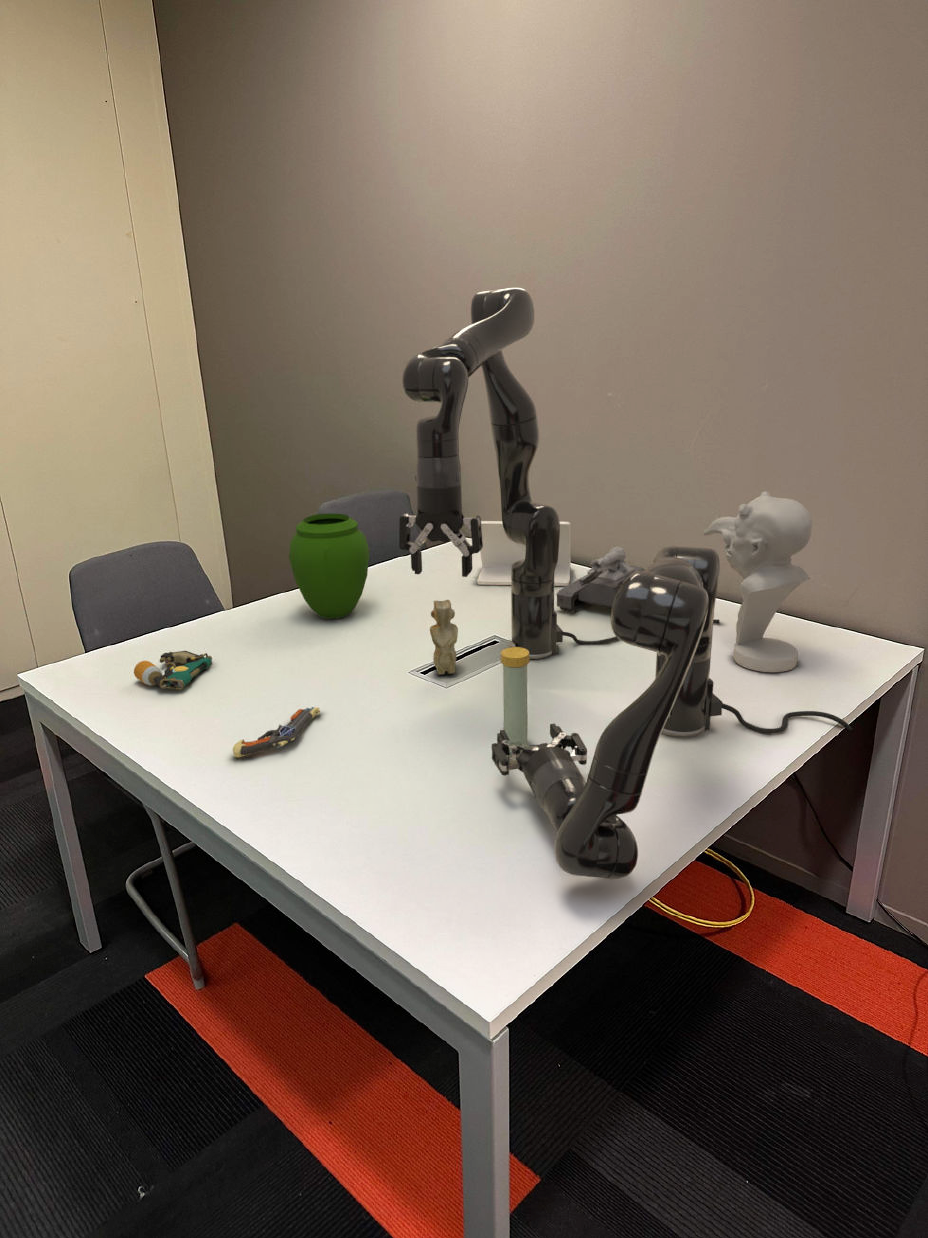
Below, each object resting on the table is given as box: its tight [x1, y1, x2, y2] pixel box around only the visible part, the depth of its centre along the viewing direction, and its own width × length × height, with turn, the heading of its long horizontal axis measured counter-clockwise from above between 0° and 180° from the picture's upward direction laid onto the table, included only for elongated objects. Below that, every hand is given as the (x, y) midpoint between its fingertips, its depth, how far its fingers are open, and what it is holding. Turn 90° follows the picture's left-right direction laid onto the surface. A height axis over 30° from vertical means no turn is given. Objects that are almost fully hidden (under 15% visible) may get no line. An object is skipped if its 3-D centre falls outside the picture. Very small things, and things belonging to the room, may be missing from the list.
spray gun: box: [133, 650, 213, 690], centre depth 180 cm, size 4×17×15 cm
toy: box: [556, 546, 646, 613], centre depth 212 cm, size 25×20×15 cm
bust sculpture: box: [702, 491, 813, 673], centre depth 177 cm, size 16×24×35 cm, turn 28°
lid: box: [500, 646, 531, 667], centre depth 142 cm, size 5×5×2 cm
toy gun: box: [232, 706, 321, 758], centre depth 154 cm, size 3×19×10 cm
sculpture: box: [429, 599, 459, 675], centre depth 177 cm, size 6×7×15 cm
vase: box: [288, 512, 370, 620], centre depth 209 cm, size 20×20×24 cm
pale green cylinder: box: [502, 664, 528, 753], centre depth 145 cm, size 4×4×18 cm
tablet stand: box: [476, 520, 572, 587], centre depth 236 cm, size 18×25×17 cm
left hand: (441, 574), depth 148 cm, fingers open, 8 cm apart
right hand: (526, 731), depth 140 cm, fingers open, 8 cm apart
